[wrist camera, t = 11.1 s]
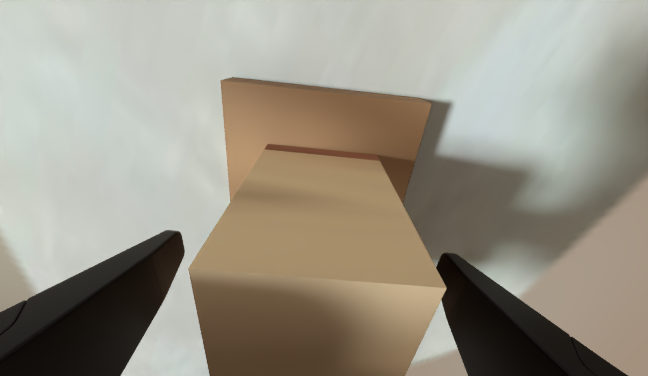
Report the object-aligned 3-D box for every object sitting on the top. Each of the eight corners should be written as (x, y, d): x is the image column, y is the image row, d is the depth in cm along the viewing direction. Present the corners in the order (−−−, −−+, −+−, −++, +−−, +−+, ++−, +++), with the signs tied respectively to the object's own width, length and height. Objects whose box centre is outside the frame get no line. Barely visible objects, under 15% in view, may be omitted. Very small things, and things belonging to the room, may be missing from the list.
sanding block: (351, 272, 12) (372, 442, 7) (267, 265, 12) (222, 435, 7) (376, 154, 9) (446, 288, 4) (267, 143, 9) (188, 268, 4)
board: (353, 346, 17) (355, 365, 16) (248, 339, 17) (243, 359, 16) (419, 98, 10) (431, 103, 8) (232, 77, 9) (220, 80, 8)
